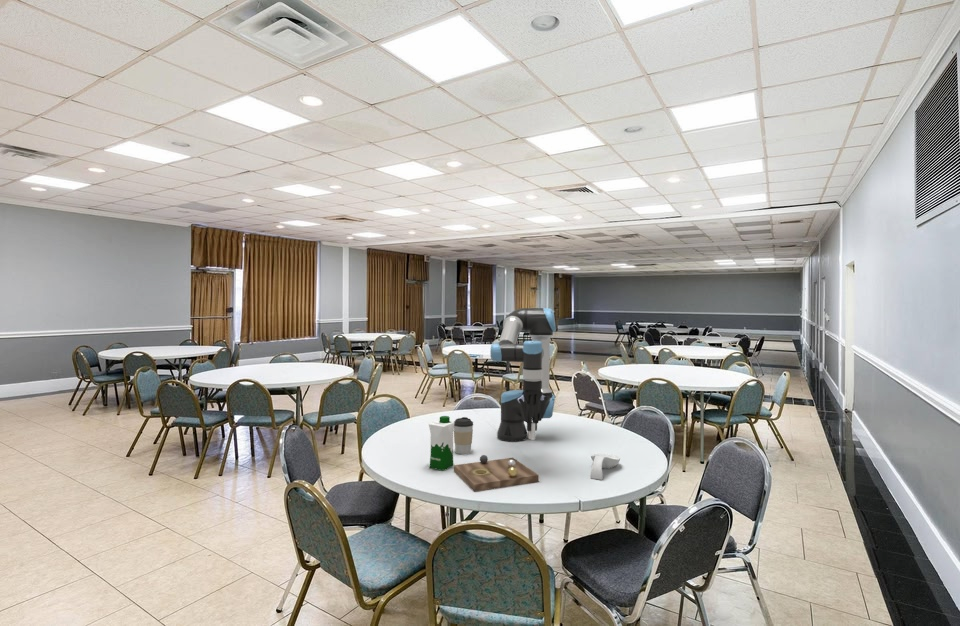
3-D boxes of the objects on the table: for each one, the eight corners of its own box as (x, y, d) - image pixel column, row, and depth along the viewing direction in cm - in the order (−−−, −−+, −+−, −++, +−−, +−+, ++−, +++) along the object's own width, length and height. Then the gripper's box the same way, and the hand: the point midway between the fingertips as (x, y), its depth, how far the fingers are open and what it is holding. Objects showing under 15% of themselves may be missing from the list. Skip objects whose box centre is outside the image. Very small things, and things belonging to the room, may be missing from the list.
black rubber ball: (485, 461, 195) (485, 453, 195) (488, 463, 192) (489, 455, 192) (478, 462, 194) (478, 454, 194) (481, 464, 191) (481, 456, 191)
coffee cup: (470, 455, 210) (470, 421, 209) (450, 454, 211) (450, 420, 211) (475, 449, 218) (475, 417, 218) (455, 448, 220) (456, 416, 220)
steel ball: (513, 465, 190) (513, 457, 189) (516, 468, 187) (517, 460, 186) (506, 466, 188) (506, 458, 188) (509, 469, 185) (509, 461, 185)
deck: (512, 463, 200) (512, 457, 200) (538, 481, 180) (538, 475, 180) (453, 471, 190) (453, 465, 190) (474, 491, 170) (474, 484, 170)
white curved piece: (593, 460, 206) (593, 443, 206) (621, 463, 201) (622, 446, 201) (581, 478, 184) (581, 459, 184) (612, 482, 179) (613, 463, 179)
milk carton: (456, 465, 197) (456, 417, 197) (443, 472, 189) (443, 421, 189) (439, 461, 202) (439, 414, 201) (426, 468, 194) (426, 418, 193)
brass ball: (514, 474, 180) (514, 465, 180) (518, 477, 177) (519, 468, 177) (505, 475, 179) (506, 466, 178) (510, 479, 175) (510, 469, 175)
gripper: (542, 377, 196) (541, 435, 196) (513, 379, 191) (512, 438, 191) (551, 380, 189) (550, 439, 189) (522, 381, 184) (521, 443, 184)
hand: (531, 438), depth 190 cm, fingers closed
